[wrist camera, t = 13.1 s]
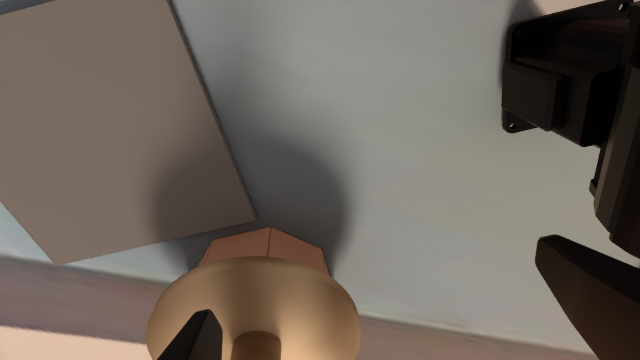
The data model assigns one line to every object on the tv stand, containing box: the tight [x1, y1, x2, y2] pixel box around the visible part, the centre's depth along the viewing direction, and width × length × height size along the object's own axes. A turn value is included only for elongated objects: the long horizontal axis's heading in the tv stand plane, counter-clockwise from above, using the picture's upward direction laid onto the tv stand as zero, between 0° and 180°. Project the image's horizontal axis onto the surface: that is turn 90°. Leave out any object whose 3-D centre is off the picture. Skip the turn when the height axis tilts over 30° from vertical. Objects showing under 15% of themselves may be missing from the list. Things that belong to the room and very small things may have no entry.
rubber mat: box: [0, 0, 256, 266], centre depth 20 cm, size 15×15×1 cm
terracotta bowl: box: [196, 227, 330, 276], centre depth 24 cm, size 11×11×4 cm
